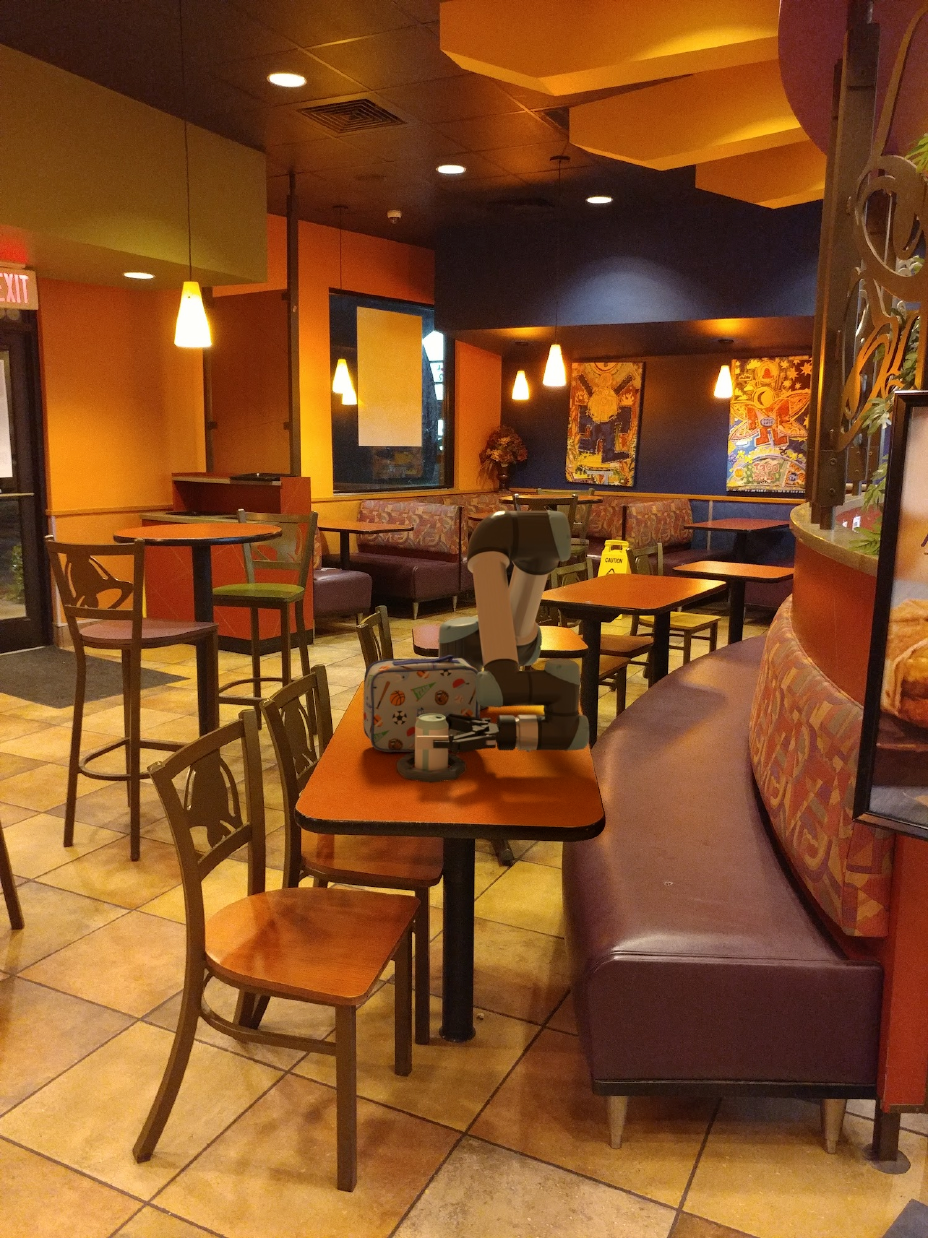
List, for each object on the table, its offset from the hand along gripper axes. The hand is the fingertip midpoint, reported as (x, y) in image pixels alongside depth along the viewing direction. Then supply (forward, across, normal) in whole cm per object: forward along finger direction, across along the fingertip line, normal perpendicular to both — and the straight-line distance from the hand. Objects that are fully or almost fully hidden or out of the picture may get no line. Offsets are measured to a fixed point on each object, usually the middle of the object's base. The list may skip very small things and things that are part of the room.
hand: (416, 732), depth 204 cm
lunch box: (-2, +16, -9) cm, 18 cm away
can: (-3, 0, -9) cm, 9 cm away
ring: (-3, 0, -8) cm, 9 cm away
